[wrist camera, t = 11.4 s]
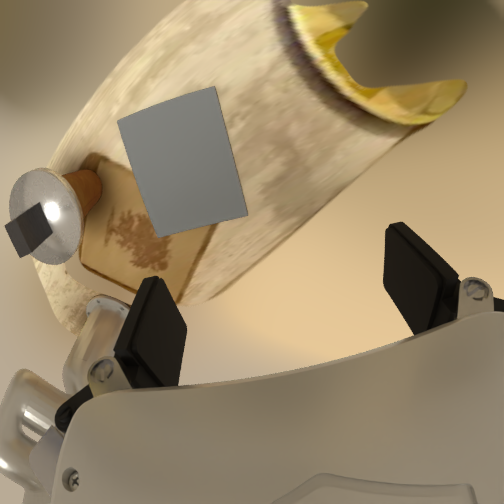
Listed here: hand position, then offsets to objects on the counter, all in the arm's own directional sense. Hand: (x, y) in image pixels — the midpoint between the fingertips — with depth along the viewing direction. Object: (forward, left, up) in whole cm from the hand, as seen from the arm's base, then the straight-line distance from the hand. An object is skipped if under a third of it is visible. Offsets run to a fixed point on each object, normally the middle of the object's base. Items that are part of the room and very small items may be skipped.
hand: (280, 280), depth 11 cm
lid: (+3, +27, -18) cm, 33 cm away
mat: (+1, +10, -30) cm, 32 cm away
